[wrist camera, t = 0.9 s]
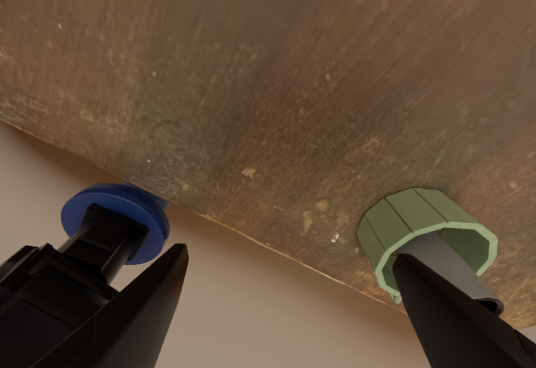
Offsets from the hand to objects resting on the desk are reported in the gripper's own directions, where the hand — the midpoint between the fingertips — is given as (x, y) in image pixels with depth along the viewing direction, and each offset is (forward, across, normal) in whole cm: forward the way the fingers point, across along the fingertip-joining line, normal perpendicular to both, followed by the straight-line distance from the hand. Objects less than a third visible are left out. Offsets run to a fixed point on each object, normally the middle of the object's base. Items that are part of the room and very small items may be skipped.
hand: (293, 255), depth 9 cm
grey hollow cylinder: (+14, -16, +10) cm, 23 cm away
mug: (+13, -16, +11) cm, 24 cm away
